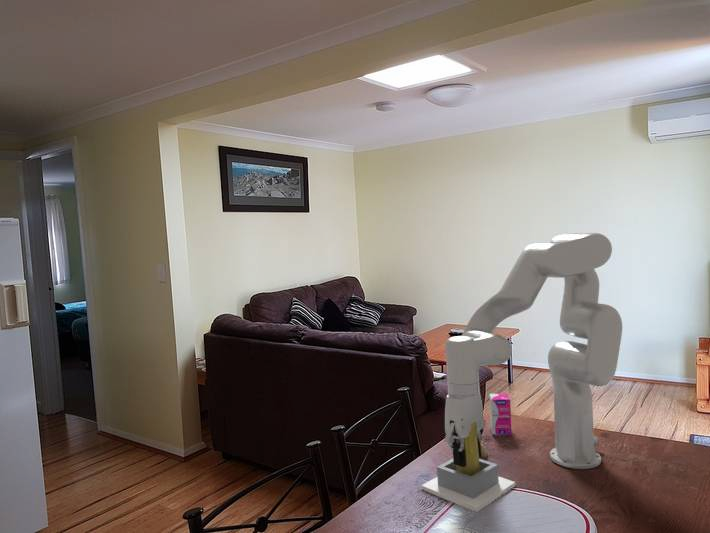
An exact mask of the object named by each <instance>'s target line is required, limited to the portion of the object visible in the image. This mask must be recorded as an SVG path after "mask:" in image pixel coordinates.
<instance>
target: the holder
mask: <svg viewBox="0 0 710 533" xmlns="http://www.w3.org/2000/svg"><path fill="white" fill-rule="evenodd" d="M479 462H480V472H478V473H476V474H475V475H473V476H468V475H466V474H463V473H460V472H457V471H456V465H455V464H454V462H453V458H450V459H449V460H447V461H446V462H444V463H441V464H440V465H438V466H436V474H437V476H436V477H434V478H432V479H431V480H429V481H426V482H425V483H423V484H421V490H422V491H425V492H427V493H429V494H432V495H434V496H436V497H439V498H441V499H444V500H446V501H449V502H451V503H453V504H456V505H458V506H460V507H462V508H466V509H468V510H469V511H473V512H475V513H478V512H479V511H481V510H482V509H484V508H485V507H487V506H489V504H491V503H493V502H494V501H496V500H497V499H499V498H500V497H501V495H502V494H503V493H504V494H506V493H507V492H509V491H511V490H512V489H513V488H515V487H516V481H512V480H510V479H507V478H504V477H502V476H499V465H498V464H497V463H493V462H492V461H488V460H485V459H479ZM511 488H512V489H511ZM508 490H509V491H508ZM506 491H507V492H506ZM505 492H506V493H505ZM504 494H503V495H504ZM503 495H502V496H503ZM498 497H499V498H498ZM495 499H496V500H495ZM492 501H493V502H492Z"/></svg>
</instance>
